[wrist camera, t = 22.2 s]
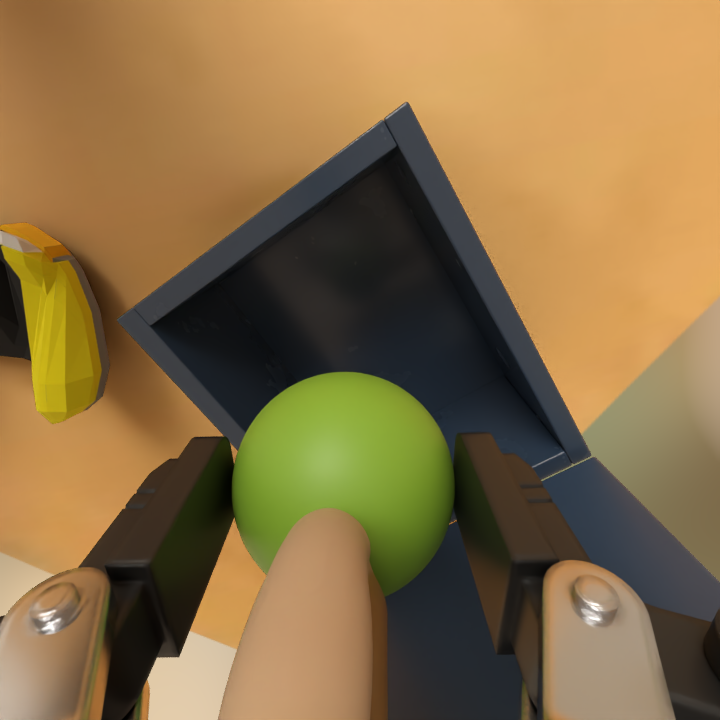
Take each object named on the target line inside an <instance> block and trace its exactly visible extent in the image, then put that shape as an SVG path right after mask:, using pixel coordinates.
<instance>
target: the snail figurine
mask: <svg viewBox="0 0 720 720" xmlns="http://www.w3.org/2000/svg"><path fill="white" fill-rule="evenodd" d="M454 498H455V477H454V469H453V463H452V458H451V455H450V451H449V448H448V445H447V443H446V440H445V438H444V436H443V434H442V432H441V430H440V428H439V426H438V425H437V423H436V422H435V420H434V419H433V417H432V416H431V415H430V413H429V412H428V411H427V410H426V409H425V407H424V406H423V405H422V404H421V403H420V402H419V401H418V400H416V399H415V398H414V397H413V396H412V395H411V394H409V393H408V392H406V391H405V390H403V389H402V388H400V387H399V386H397V385H395V384H393V383H391V382H389V381H387V380H384V379H382V378H379V377H376V376H372V375H368V374H363V373H357V372H333V373H326V374H321V375H317V376H313V377H310V378H307V379H305V380H302V381H300V382H298V383H296V384H294V385H292V386H290V387H289V388H287V389H285V390H284V391H282V392H281V393H280V394H278V395H277V396H276V397H275V398H273V399H272V400H271V401H270V402H269V403H268V404H267V405H266V406H265V407H264V408H263V409H262V410H261V411H260V413H259V414H258V415H257V416H256V418H255V419H254V420H253V422H252V423H251V425H250V427H249V428H248V430H247V432H246V434H245V436H244V438H243V440H242V442H241V444H240V447H239V450H238V453H237V456H236V460H235V464H234V469H233V476H232V505H233V511H234V517H235V521H236V524H237V528H238V531H239V533H240V536H241V538H242V540H243V543H244V545H245V547H246V548H247V550H248V552H249V554H250V555H251V557H252V558H253V560H254V561H255V562H256V564H257V565H258V566H259V567H260V568H261V570H262V571H263V572H264V573H265V574H266V575H267V576H266V578H265V580H264V582H263V584H262V586H261V588H260V591H259V593H258V595H257V598H256V600H255V602H254V605H253V607H252V610H251V612H250V615H249V618H248V620H247V623H246V626H245V629H244V631H243V634H242V637H241V640H240V643H239V646H238V649H237V652H236V655H235V658H234V661H233V664H232V668H231V671H230V675H229V678H228V682H227V685H226V689H225V692H224V696H223V700H222V704H221V709H220V713H219V717H218V720H388V678H387V619H388V613H387V605H386V600H385V597H386V596H388V595H390V594H392V593H394V592H396V591H397V590H399V589H401V588H402V587H404V586H405V585H407V584H408V583H409V582H410V581H412V580H413V579H414V578H415V577H416V576H417V575H418V574H419V573H420V572H421V571H422V570H423V569H424V568H425V567H426V566H427V565H428V563H429V562H430V561H431V559H432V558H433V557H434V555H435V554H436V552H437V550H438V549H439V547H440V545H441V543H442V541H443V539H444V537H445V535H446V532H447V530H448V527H449V524H450V520H451V516H452V512H453V506H454Z"/></svg>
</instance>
